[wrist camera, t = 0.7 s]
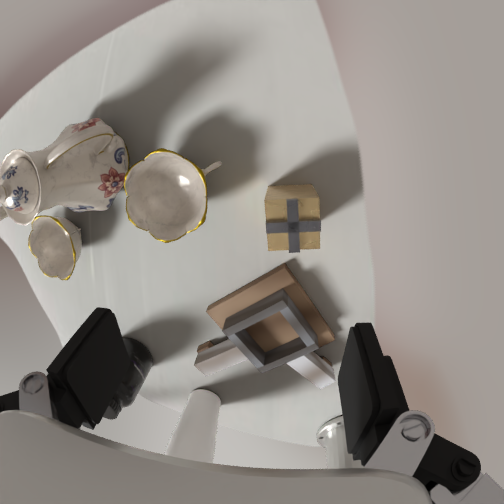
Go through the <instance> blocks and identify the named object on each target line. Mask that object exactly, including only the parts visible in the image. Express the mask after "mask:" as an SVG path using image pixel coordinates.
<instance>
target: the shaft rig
mask: <svg viewBox="0 0 504 504" xmlns="http://www.w3.org/2000/svg"><path fill="white" fill-rule="evenodd" d="M206 312H207V313H208V314H209V315H210V317H211V318H212V319H213V320H214V321H215V322H216V323H217V324H218V326H219V327H220V328H221V329H222V331H223V332H224V334H225V335H226V336H227V337H228V338H229V339H228V340H226V341H224V342H221V343H219V344H217V345H215V346H214V345H213V344H212V343H211V342H210V341H208V342H206V343H204V344H202V345H200V346H199V347H198V350H197V352H198V355H197V358H196V361H195V363H194V366H195V367H196V368H197V369H198V370H199V371H201V372H202V373H203V374H204V375H205V376H208V375H211V374H213V373H216V372H219V371H221V370H224V369H226V368H229V367H231V366H234V365H236V364H238V363H241V362H243V361H246V360H249V361H250V362H251V363H252V364H253V365H254V366H255V367H256V368H257V369H258V370H259V371H260V372H261V373H264V372H266V371H269V370H271V369H273V368H276V367H278V366H281V365H283V364H285V363H287V364H288V365H289V366H290V367H292V368H293V369H294V370H296V371H297V372H298V373H300V374H301V375H302V376H303V377H305V378H306V379H307V380H309V381H310V382H311V383H313V384H314V385H315V386H317V387H318V388H319V389H322V388H324V387H326V386H328V385H330V384H331V383H333V382H335V375H334V369H333V368H332V364H331V362H329V361H328V360H327V359H326V358H325V357H324V356H322V357H321V358H320V357H319V356H318V355H317V354H316V353H315V352H313V351H315V350H317V349H319V348H320V347H322V346H324V345H326V344H328V343H330V342H332V341H334V340H335V337H334V334H333V332H332V331H331V329H330V328H329V326H328V325H327V323H326V322H325V320H324V319H323V317H322V316H321V315H320V313H319V312H318V310H317V309H316V307H315V306H314V304H313V303H312V301H311V300H310V298H309V297H308V296H307V294H306V293H305V291H304V290H303V288H302V287H301V285H300V284H299V283H298V281H297V280H296V278H295V277H294V275H293V274H292V272H291V271H290V270H289V268H288V267H287V265H286V264H285V263H284V264H282V265H280V266H278V267H277V268H275V269H273V270H271V271H270V272H268V273H266V274H264V275H263V276H261V277H259V278H257V279H256V280H254V281H252V282H250V283H249V284H247V285H245V286H243V287H242V288H240V289H238V290H236V291H235V292H233V293H231V294H229V295H227V296H226V297H224V298H222V299H220V300H218V301H217V302H215V303H213V304H211V305H209V306H208V308H207V311H206Z"/></svg>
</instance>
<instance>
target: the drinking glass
mask: <svg viewBox="0 0 504 504" xmlns="http://www.w3.org/2000/svg"><path fill="white" fill-rule="evenodd" d="M220 406H221V400H220V398H219V397H218V396H217V395H216V394H215V393H213V392H211V391H208V390H204V389H197V390H194V391H192V392H191V393H190V395H189V397H188V400H187V403H186V405H185V407H184V409H183V412H182V414H181V416H180V418H179V421H178V422H177V425H176V427H175V429H174V431H173V433H172V435H171V437H170V440H169V442H168V444H167V447H166V450H165V453H164V455H167V456H172V457H177V458H182V459H188V460H193V461H199V462H206V463H213V459H214V452H215V443H216V434H217V425H218V417H219V411H220Z"/></svg>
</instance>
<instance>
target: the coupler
mask: <svg viewBox="0 0 504 504" xmlns="http://www.w3.org/2000/svg"><path fill="white" fill-rule="evenodd" d="M265 213H266V233H267V239H268V251H276V250H289V253H295V252H300V249H320V231H321V220H320V207H319V196H318V195H317V193H316V191H315V189H314V188H313V186H312V184H305V185H283V186H268V189H267V193H266V196H265Z"/></svg>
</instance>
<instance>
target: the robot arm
mask: <svg viewBox="0 0 504 504" xmlns="http://www.w3.org/2000/svg"><path fill="white" fill-rule="evenodd" d="M129 366H130V358H129V355H128V353H127V350H126V347H125V344H124V341H123V338H122V335H121V332H120V329H119V326H118V323H117V320H116V317H115V314H114V313H112V311H111V310H110V309H107V308H100V307H98V308H96V309H95V310H94V311H93V312H92V314H91V315H90V316H89V317H88V318H87V319H86V321H85V322H84V323H83V324H82V325H81V327H80V328H79V329H78V330H77V332H76V333H75V334H74V335H73V336H72V338H71V339H70V340H69V341H68V343H67V344H66V345H65V346H64V348H63V349H62V350H61V352H60V353H59V354H58V355H57V357H56V358H55V359H54V361H53V362H52V363H51V365H50V366H49V367H48V368H47V372H48V375H47V376H46V375H45V374H44V373H42V372H32V373H29V374H27V375H26V376H25V377H24V378H23V379H22V380H21V382H20V385H19V390H18V391H15V392H12V393H9V394H6V395H3V396H0V504H504V490H503V489H502V488H501V487H500V486H499V485H498V484H497V483H496V482H495V481H494V480H493V479H492V478H491V477H490V476H489V475H488V474H487V473H485V474H484V475H483V474H482V473H481V472H480V471H481V465H480V461H479V459H478V458H477V456H476V455H474V454H473V453H472V452H470V451H468V450H466V449H464V448H462V447H460V446H458V445H456V444H454V443H452V442H450V441H448V440H446V439H444V438H442V437H440V436H439V435H437V434H435V433H434V432H435V425H434V423H433V420H432V419H431V418H430V417H429V416H428V415H427V414H425V413H423V412H420V411H413V410H412V411H409V408H408V405H407V402H406V399H405V396H404V393H403V390H402V387H401V384H400V381H399V379H398V375H397V373H396V370H395V367H394V365H393V362H392V359H391V357H390V356H383V353H382V350H381V348H380V345H379V342H378V339H377V336H376V334H375V331H374V328H373V326H372V324H371V323H356V324H355V327H351V328H350V331H349V335H348V339H347V343H346V348H345V352H344V356H343V360H342V363H341V367H340V371H339V375H338V386H339V393H340V399H341V406H342V413H343V416H340V417H337V418H335V419H333V420H331V421H329V422H327V423H325V424H324V425H323V426H322V427H321V428H320V429H319V430H318V432H317V442H318V444H319V445H321V446H322V447H324V448H326V461H327V469H266V468H265V469H264V468H250V467H238V466H229V465H220V464H213V463H206V462H199V461H193V460H188V459H182V458H177V457H172V456H167V455H163V454H159V453H154V452H150V451H146V450H142V449H138V448H134V447H131V446H128V445H124V444H121V443H118V442H114V441H111V440H108V439H105V438H102V437H99V436H96V435H94V434H91V433H88V432H85V431H82V430H80V427H81V425H83V426H85V427H87V428H90V429H94V428H95V426H96V424H99V423H100V421H101V419H102V417H103V415H104V413H105V411H106V410H107V408H108V406H109V404H110V402H111V400H112V398H113V396H114V394H115V392H116V390H117V389H118V387H119V385H120V383H121V381H122V379H123V377H124V376H125V374H126V372H127V370H128V368H129Z"/></svg>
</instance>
